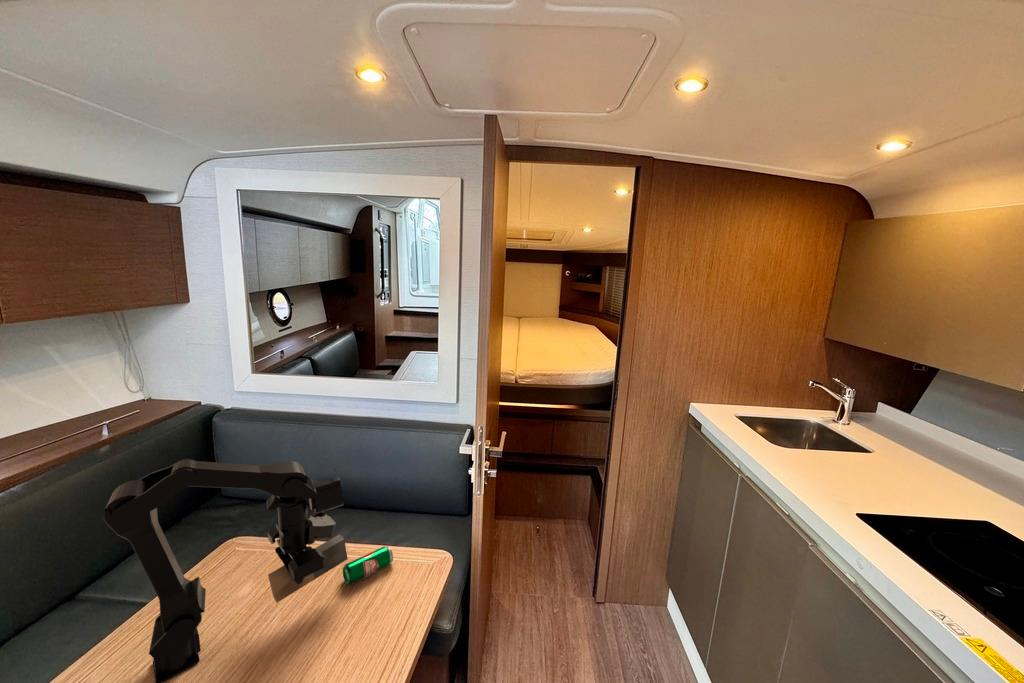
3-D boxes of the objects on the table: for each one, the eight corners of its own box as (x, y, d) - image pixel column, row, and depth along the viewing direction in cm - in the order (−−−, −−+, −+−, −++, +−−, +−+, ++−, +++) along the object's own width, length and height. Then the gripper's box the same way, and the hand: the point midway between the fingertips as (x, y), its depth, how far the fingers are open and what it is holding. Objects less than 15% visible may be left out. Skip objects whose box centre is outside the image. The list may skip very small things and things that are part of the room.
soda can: (350, 570, 96) (394, 549, 104) (341, 561, 99) (384, 541, 108) (350, 589, 96) (394, 567, 105) (342, 579, 100) (385, 558, 108)
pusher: (276, 602, 85) (271, 580, 83) (273, 596, 86) (267, 574, 85) (347, 559, 96) (344, 539, 94) (343, 554, 98) (339, 534, 96)
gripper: (347, 521, 86) (350, 583, 88) (315, 488, 98) (318, 542, 101) (292, 546, 77) (297, 612, 80) (265, 506, 90) (269, 565, 93)
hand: (297, 579), depth 89 cm, fingers closed on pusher, 2 cm apart
